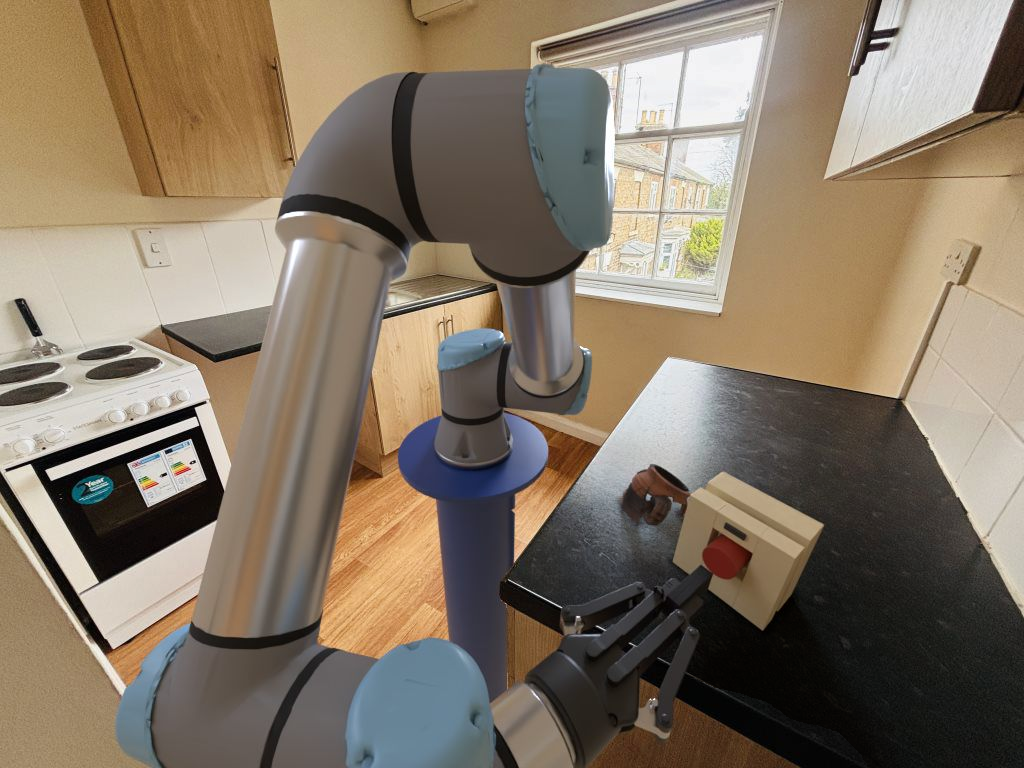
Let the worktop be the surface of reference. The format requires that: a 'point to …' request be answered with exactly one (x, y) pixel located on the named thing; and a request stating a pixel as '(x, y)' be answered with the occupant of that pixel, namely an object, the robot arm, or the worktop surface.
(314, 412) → the robot arm
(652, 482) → the pottery mug
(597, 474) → the worktop surface
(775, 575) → the control block
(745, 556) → the button
